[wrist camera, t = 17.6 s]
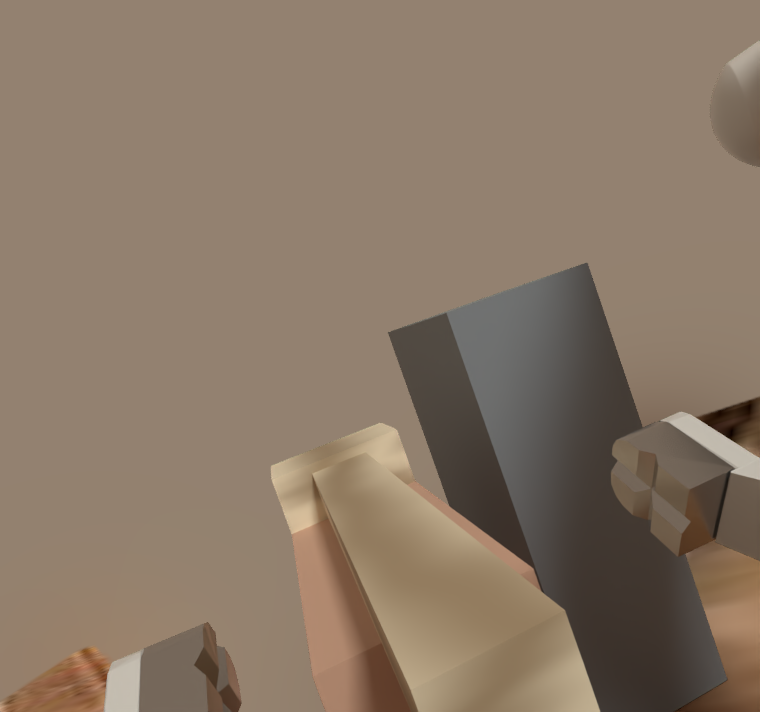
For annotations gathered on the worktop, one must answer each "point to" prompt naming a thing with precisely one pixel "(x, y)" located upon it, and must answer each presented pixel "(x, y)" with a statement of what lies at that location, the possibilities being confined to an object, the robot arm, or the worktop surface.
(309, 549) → the tan upright block
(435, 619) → the T-bar
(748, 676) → the worktop surface
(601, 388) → the grey upright block
